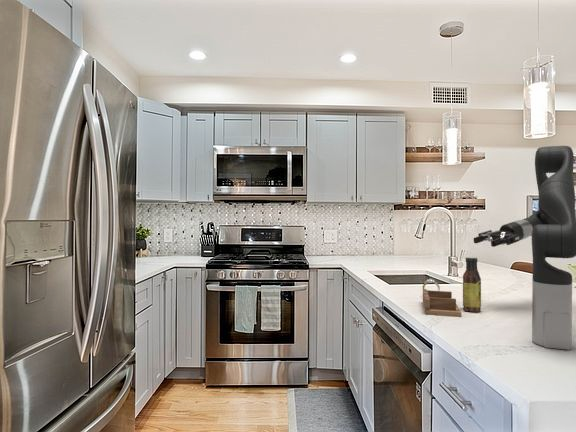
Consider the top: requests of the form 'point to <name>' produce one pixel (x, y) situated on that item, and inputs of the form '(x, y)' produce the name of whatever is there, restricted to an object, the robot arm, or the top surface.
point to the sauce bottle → (471, 286)
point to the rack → (440, 303)
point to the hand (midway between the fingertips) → (482, 242)
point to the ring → (431, 282)
